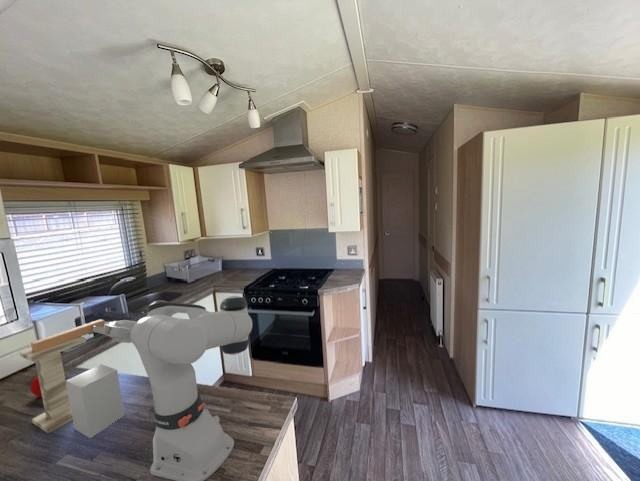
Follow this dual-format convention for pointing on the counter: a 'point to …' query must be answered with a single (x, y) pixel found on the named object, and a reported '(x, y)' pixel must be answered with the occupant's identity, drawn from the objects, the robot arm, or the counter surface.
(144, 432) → the counter surface
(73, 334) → the bar
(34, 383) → the fruit
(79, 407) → the pedestal
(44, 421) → the tall stand
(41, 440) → the counter surface
